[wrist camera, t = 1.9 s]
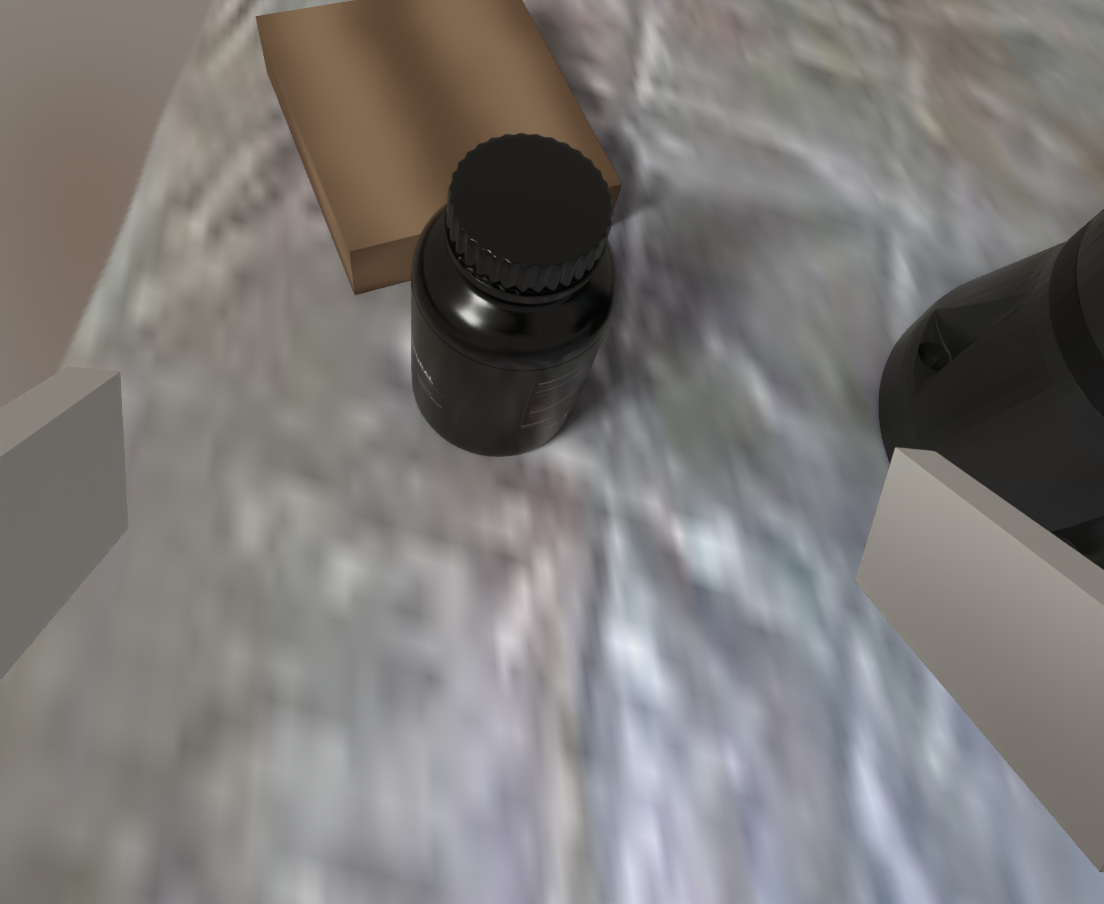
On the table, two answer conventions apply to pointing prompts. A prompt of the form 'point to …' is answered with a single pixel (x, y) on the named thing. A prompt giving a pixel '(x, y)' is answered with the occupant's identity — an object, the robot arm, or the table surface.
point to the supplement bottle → (511, 294)
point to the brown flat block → (409, 111)
